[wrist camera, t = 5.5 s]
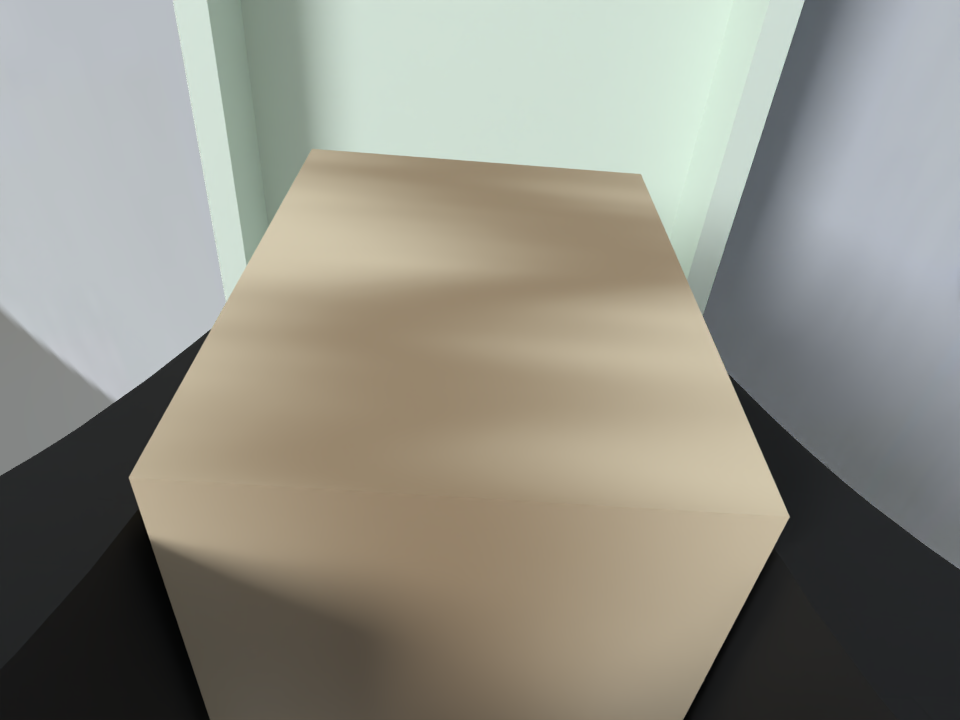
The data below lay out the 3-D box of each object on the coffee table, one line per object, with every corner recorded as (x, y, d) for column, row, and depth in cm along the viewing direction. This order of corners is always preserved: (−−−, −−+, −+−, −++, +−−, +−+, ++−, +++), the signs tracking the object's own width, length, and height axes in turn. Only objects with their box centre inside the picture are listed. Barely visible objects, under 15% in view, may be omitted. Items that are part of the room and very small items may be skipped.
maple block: (640, 174, 10) (789, 517, 5) (586, 416, 12) (647, 788, 8) (311, 148, 9) (128, 478, 5) (330, 400, 12) (227, 769, 7)
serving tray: (803, -176, 13) (861, -175, 11) (646, 380, 20) (663, 439, 19) (188, -233, 12) (129, -245, 10) (269, 355, 20) (245, 413, 18)
